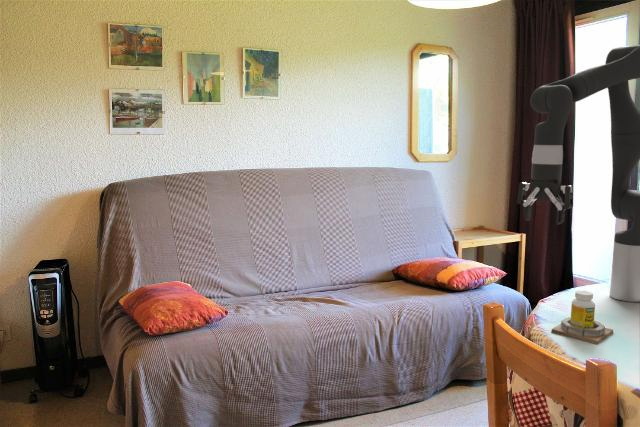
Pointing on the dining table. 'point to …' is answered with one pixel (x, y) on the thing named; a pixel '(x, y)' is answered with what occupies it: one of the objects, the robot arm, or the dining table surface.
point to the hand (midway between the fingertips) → (543, 222)
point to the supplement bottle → (583, 310)
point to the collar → (583, 331)
